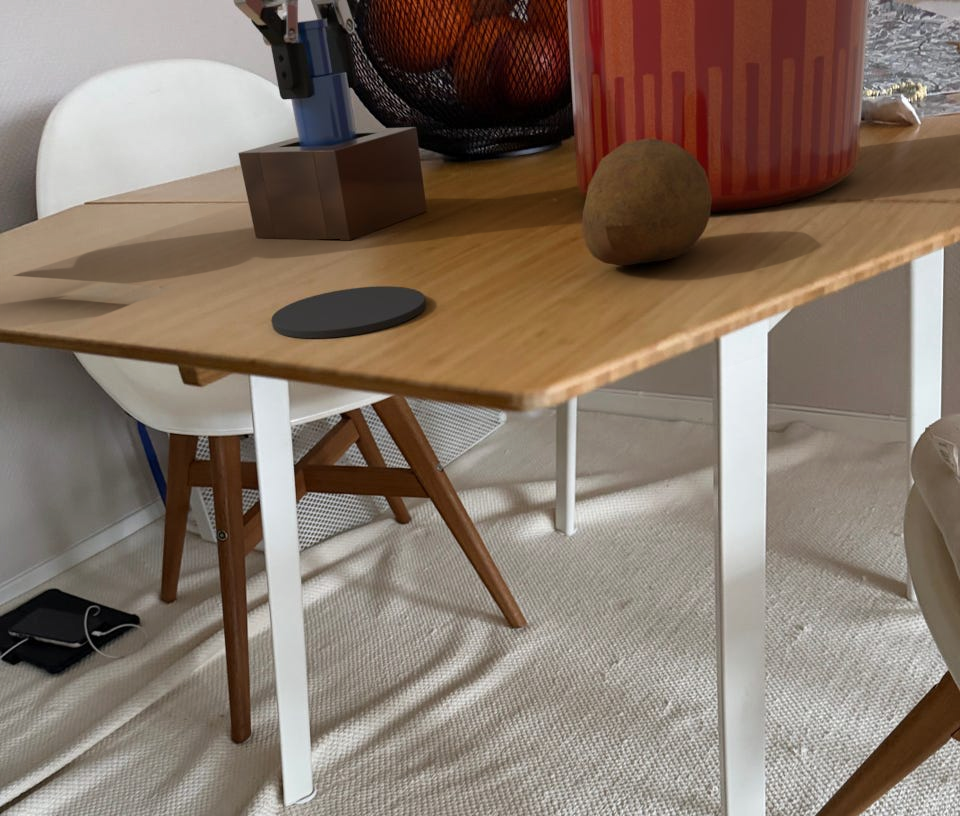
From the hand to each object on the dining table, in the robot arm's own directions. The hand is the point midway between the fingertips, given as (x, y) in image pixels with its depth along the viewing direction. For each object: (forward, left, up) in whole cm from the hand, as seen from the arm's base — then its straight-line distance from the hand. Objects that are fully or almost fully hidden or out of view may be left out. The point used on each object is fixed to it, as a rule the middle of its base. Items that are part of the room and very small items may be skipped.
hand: (319, 90), depth 92 cm
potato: (+35, -9, -11) cm, 38 cm away
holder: (0, 0, -11) cm, 11 cm away
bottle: (0, 0, -11) cm, 11 cm away
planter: (+29, +15, -11) cm, 34 cm away
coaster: (+21, -24, -11) cm, 34 cm away
